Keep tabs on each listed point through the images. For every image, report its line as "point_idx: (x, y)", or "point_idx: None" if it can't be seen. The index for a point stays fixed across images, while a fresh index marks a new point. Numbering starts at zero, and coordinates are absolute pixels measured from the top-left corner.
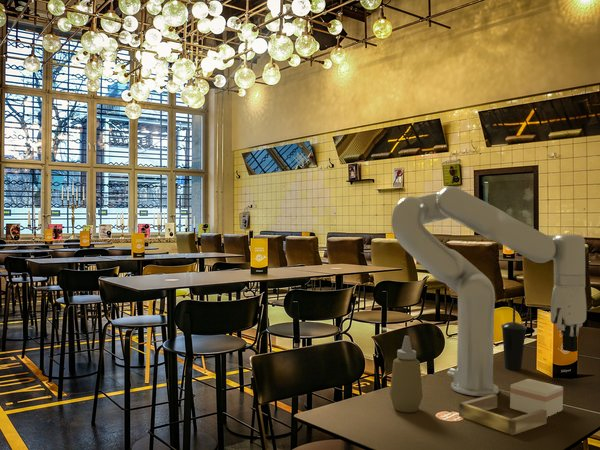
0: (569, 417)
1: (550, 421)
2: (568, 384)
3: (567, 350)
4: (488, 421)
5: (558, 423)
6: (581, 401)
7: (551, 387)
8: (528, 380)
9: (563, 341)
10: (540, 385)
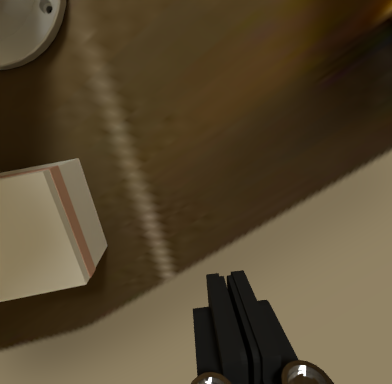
0: None
1: None
2: (339, 107)
3: (208, 298)
4: None
5: None
6: (214, 224)
7: (40, 276)
8: (23, 189)
9: (214, 318)
10: (20, 247)
